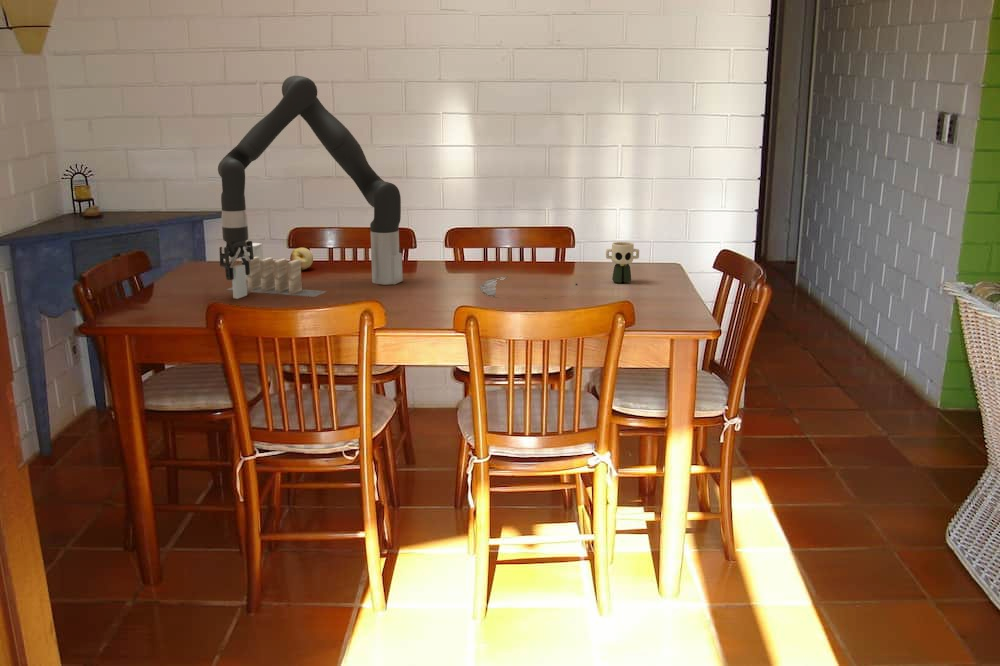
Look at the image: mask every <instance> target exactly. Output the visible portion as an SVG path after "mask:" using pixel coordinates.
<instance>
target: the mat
mask: <svg viewBox="0 0 1000 666" xmlns="http://www.w3.org/2000/svg"><path fill="white" fill-rule="evenodd" d="M246 286H247V293H249V292H251V293H261V294H262V293H263V294H275V295H286V296H287V295H288V296H299V297H308V296H309V297H311V298H316V297H318V296H320V295H322V294H323V295H324V293H327V292H328V291H327V290H315V289H314V290H313V289H303V288H302V291H300V292H297V293H295V294H289V287H288V290H286V291H283V292H281V293H277V292H275V288H274V289H272V290H269V291H267V292H264V291H262V287H261V288H258V289H255V290H253V291H252V290H248V284H246ZM227 290H228V291H233V286H231V287H229V288H227V289H226V291H227ZM309 297H308V298H309Z"/></svg>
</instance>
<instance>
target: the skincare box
mask: <svg viewBox="0 0 1000 666" xmlns="http://www.w3.org/2000/svg"><path fill="white" fill-rule="evenodd" d="M252 246H253V256H254V257H259V262H260V260H262V259H264V254H263V253H264V251H263V243H262V242H261V243H259V242H252ZM248 254H249V256H250V252H248ZM260 276H261V273H260ZM246 281H248V280H247V275H246Z"/></svg>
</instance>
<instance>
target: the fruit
mask: <svg viewBox="0 0 1000 666" xmlns="http://www.w3.org/2000/svg"><path fill="white" fill-rule="evenodd" d="M289 257H290V258H289V261H292V260H295V259H299V260H300V264H301V271H304V270H307V269H308V268H310V267H311V265H312V264H313V262H314V255H313V253H312V251H311V250H309V249H308V248H306V247H298V248H295V249H293V250H292V251H291V253H290V256H289Z"/></svg>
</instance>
